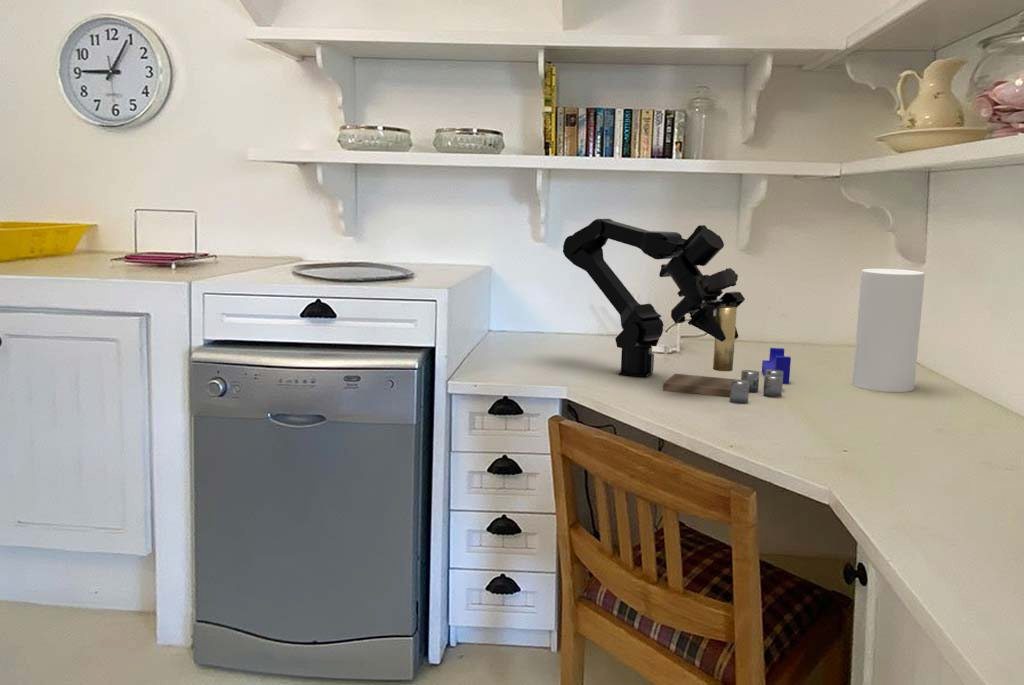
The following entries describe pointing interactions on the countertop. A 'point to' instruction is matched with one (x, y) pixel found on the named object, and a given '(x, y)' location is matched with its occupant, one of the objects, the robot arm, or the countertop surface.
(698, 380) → the brown wooden board
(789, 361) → the cable clip
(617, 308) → the robot arm
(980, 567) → the countertop surface
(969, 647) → the countertop surface
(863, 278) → the cylinder
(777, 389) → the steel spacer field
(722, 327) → the cylinder
